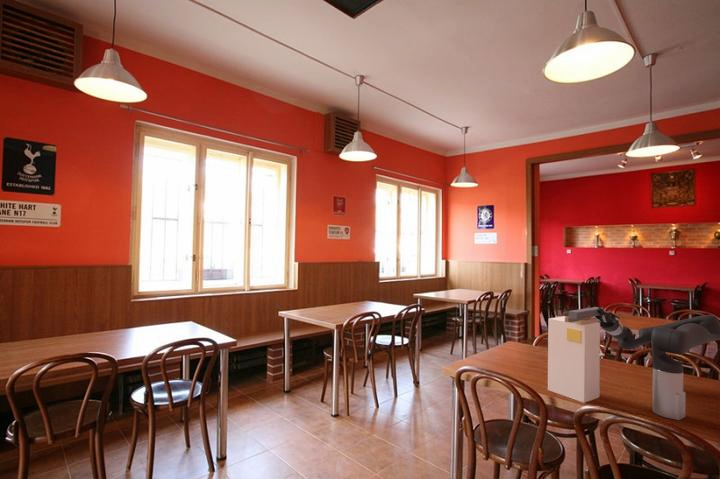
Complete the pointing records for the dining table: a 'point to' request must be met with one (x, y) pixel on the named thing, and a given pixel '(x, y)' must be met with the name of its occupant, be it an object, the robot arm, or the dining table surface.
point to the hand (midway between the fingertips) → (593, 308)
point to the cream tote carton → (574, 358)
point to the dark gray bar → (583, 313)
